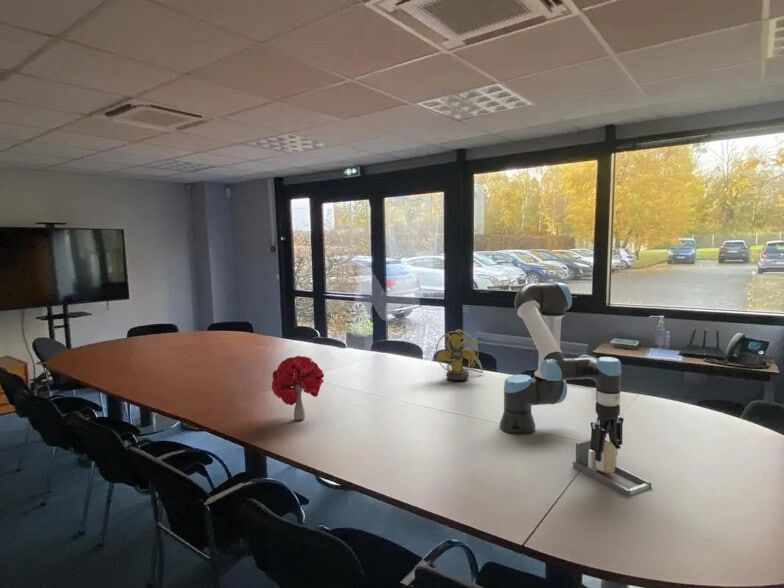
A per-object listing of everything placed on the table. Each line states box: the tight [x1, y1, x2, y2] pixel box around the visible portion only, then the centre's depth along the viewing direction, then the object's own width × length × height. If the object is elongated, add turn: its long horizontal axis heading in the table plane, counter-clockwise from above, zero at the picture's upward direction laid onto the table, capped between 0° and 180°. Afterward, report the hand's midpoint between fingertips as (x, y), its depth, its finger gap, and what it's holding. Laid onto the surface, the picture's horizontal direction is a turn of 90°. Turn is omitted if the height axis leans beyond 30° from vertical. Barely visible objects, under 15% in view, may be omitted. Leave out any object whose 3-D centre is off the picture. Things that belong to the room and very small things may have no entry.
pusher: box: [587, 450, 601, 473], centre depth 160 cm, size 1×8×8 cm, turn 115°
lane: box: [572, 437, 652, 497], centre depth 156 cm, size 22×11×9 cm, turn 25°
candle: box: [598, 439, 615, 474], centre depth 157 cm, size 6×6×10 cm
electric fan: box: [435, 329, 484, 381], centre depth 283 cm, size 26×32×30 cm
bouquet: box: [271, 355, 325, 421], centre depth 215 cm, size 22×24×30 cm
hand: (605, 467), depth 158 cm, fingers closed on candle, 5 cm apart
